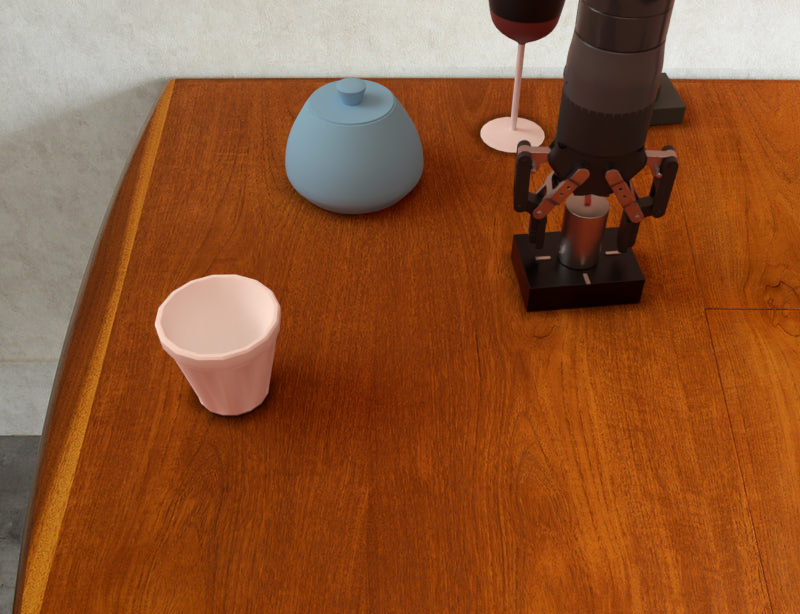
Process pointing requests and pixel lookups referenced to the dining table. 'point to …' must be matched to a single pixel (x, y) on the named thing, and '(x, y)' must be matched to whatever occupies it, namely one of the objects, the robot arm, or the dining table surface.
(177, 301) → the cup
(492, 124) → the wineglass
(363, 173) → the sugar bowl
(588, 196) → the knob
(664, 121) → the switch block
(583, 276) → the panel
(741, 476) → the dining table surface
